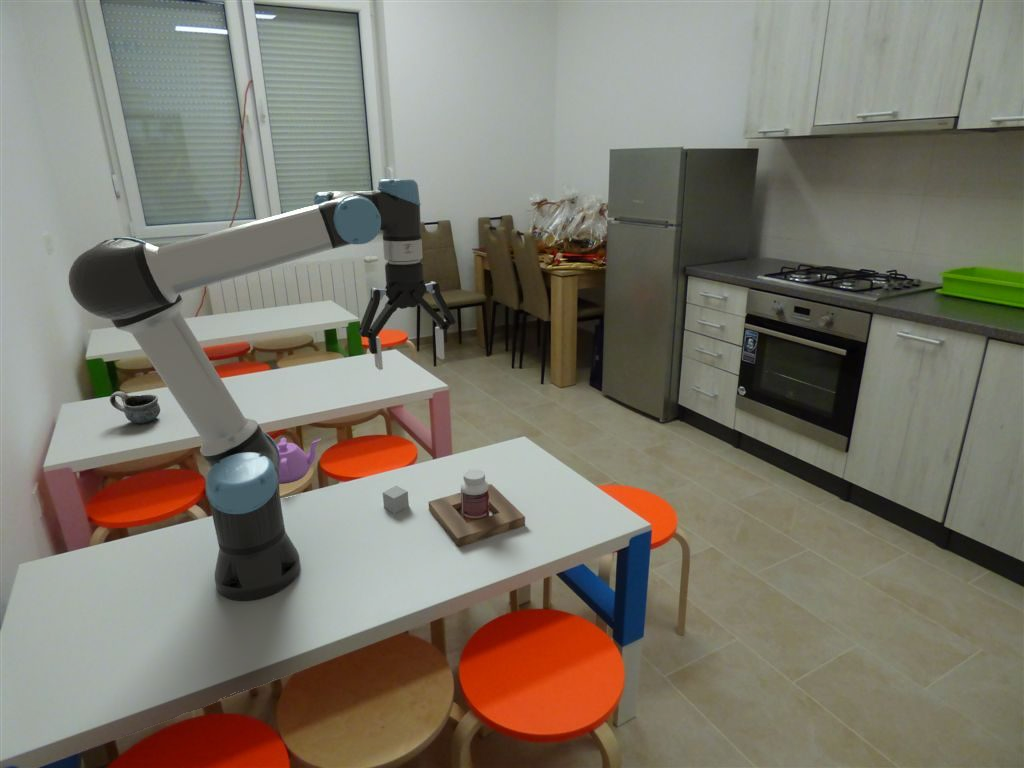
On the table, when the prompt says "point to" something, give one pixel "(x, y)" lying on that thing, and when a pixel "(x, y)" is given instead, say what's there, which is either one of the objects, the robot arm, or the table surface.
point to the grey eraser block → (395, 499)
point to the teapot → (294, 461)
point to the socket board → (479, 529)
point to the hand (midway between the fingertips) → (410, 362)
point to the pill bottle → (474, 495)
